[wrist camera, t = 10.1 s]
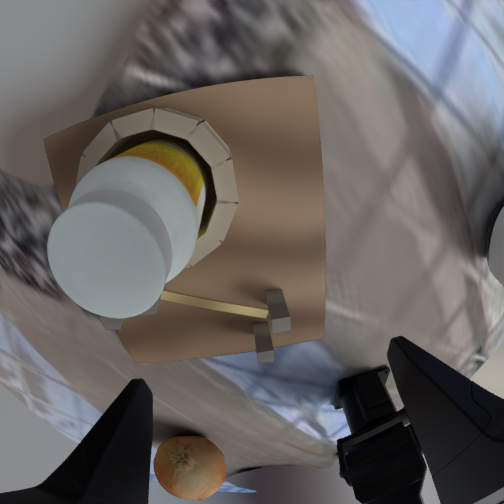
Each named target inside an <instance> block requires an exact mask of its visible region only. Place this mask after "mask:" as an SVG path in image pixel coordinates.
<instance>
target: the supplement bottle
mask: <svg viewBox="0 0 504 504" xmlns="http://www.w3.org/2000/svg"><path fill="white" fill-rule="evenodd" d="M206 195H207V175H206V171H205V168H204V166H203V164H202V162H201V161H200V159H199V158H198V157H197V155H196V154H195V153H194V152H193V151H192V150H191V149H189V148H188V147H186V146H185V145H183V144H181V143H179V142H177V141H173V140H168V139H156V140H151V141H148V142H145V143H143V144H140V145H138V146H135V147H133V148H131V149H129V150H127V151H125V152H123V153H121V154H119V155H117V156H115V157H113V158H111V159H109V160H107V161H105V162H103V163H101V164H99V165H97V166H96V167H94V168H93V169H92V170H90V171H89V172H88V173H87V174H86V175H85V176H84V177H83V178H82V179H81V181H80V182H79V183H78V185H77V186H76V188H75V190H74V192H73V194H72V197H71V199H70V203H69V206H68V208H67V209H66V210H65V211H64V212H63V213H62V214H61V215H60V216H59V217H58V218H57V219H56V221H55V222H54V224H53V226H52V228H51V230H50V234H49V238H48V244H47V252H48V261H49V264H50V268H51V270H52V273H53V275H54V277H55V279H56V281H57V282H58V284H59V286H60V287H61V288H62V290H63V291H64V292H65V293H66V294H67V295H68V296H69V297H70V298H71V299H72V300H73V301H74V302H75V303H77V304H78V305H80V306H81V307H82V308H84V309H86V310H88V311H90V312H92V313H94V314H98V315H100V316H104V317H109V318H128V317H133V316H136V315H139V314H141V313H143V312H145V311H147V310H148V309H149V308H151V307H152V306H153V305H154V304H155V302H156V301H157V300H158V298H159V297H160V295H161V293H162V292H163V289H164V285H165V283H167V282H169V281H170V280H172V279H173V278H174V277H176V276H177V275H178V274H179V273H180V272H181V271H182V270H183V269H184V267H185V266H186V265H187V263H188V262H189V260H190V258H191V256H192V254H193V251H194V249H195V246H196V242H197V238H198V233H199V228H200V223H201V218H202V213H203V209H204V204H205V200H206Z"/></svg>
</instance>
